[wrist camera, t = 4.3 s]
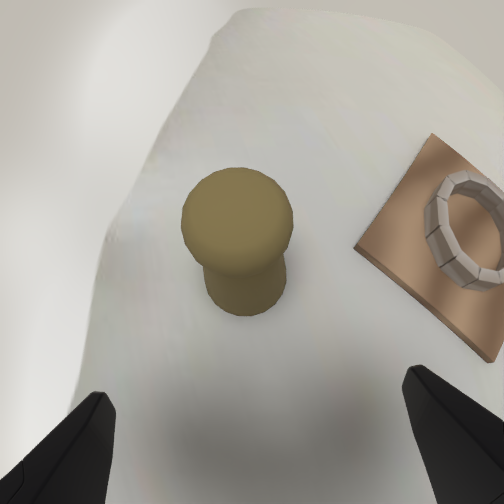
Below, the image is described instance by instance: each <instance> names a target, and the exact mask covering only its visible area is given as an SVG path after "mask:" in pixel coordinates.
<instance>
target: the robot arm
mask: <svg viewBox="0 0 504 504" xmlns="http://www.w3.org/2000/svg"><path fill="white" fill-rule="evenodd" d="M402 392H403V396H404V399H405V403H406V407H407V411H408V415H409V419H410V423H411V427H412V430H413V434H414V437H415V439H416V442H417V445H418V448H419V450H420V453H421V456H422V459H423V462H424V464H425V467H426V470H427V473H428V476H429V479H430V482H431V485H432V488H433V491H434V495H435V498H436V501H437V504H504V421H503V420H502V419H500V418H499V417H497V416H496V415H494V414H493V413H491V412H490V411H489V410H487V409H486V408H484V407H483V406H481V405H480V404H478V403H477V402H476V401H474V400H473V399H471V398H470V397H468V396H467V395H465V394H464V393H462V392H461V391H460V390H458V389H457V388H455V387H454V386H452V385H451V384H449V383H448V382H446V381H445V380H444V379H442V378H441V377H439V376H438V375H436V374H435V373H433V372H432V371H430V370H429V369H428V368H426V367H425V366H423V365H415V366H411V367H409V368H408V370H407V373H406V375H405V378H404V381H403V384H402ZM115 421H116V410H115V408H114V406H113V404H112V402H111V401H110V399H109V397H108V395H107V394H106V393H105V392H97V391H94V392H92V393H90V394H89V395H88V396H87V397H86V398H85V399H84V400H83V401H82V402H81V403H80V404H79V405H78V406H77V407H76V408H75V409H74V410H73V411H72V412H71V413H70V414H69V415H68V416H67V417H66V418H65V419H64V420H62V422H60V423H59V424H58V425H57V426H56V427H55V428H54V429H53V430H52V431H51V432H50V433H49V434H48V435H47V436H46V437H45V438H44V439H43V440H42V441H41V442H40V443H39V444H38V445H37V446H36V447H35V448H34V449H33V450H32V451H31V452H30V453H29V454H28V455H26V456H25V457H24V459H23V461H20V462H19V463H18V464H17V465H16V466H15V467H14V468H13V469H12V470H11V471H10V472H9V473H8V474H7V475H5V476H4V477H3V478H2V479H1V480H0V504H105V499H106V493H107V487H108V480H109V475H110V469H111V463H112V457H113V445H114V432H115Z"/></svg>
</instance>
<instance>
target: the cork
mask: <svg viewBox="0 0 504 504" xmlns="http://www.w3.org/2000/svg"><path fill="white" fill-rule="evenodd" d="M181 230H182V234H183V238H184V242H185V245H186V246H187V248H188V249H189V251H190V252H191V254H192V255H193V257H194V258H195V260H196V261H197V262H198V263H199V264H201V265H202V266H203V271H204V279H205V284H206V288H207V291H208V294H209V296H210V297H211V298H212V300H213V301H214V303H215V304H216V305H217V306H219V307H220V308H221V309H223V310H224V311H225V312H228V313H231V314H234V315H237V316H253V315H257V314H260V313H263V312H265V311H266V310H268V309H269V308H271V307H272V306H273V305H275V304H276V302H277V301H278V299H279V298H280V297H281V295H282V294H283V291H284V288H285V284H286V267H285V261H284V256H283V253H284V252H285V250H286V249H287V247H288V244H289V241H290V237H291V234H292V231H293V211H292V208H291V205H290V203H289V200H288V198H287V196H286V193H285V191H284V190H283V189H282V188H281V187H280V186H279V185H278V184H277V183H276V181H275V180H273V179H271V178H270V177H268V176H266V175H265V174H263V173H261V172H259V171H256V170H252V169H248V168H227V169H223V170H220V171H216V172H214V173H212V174H211V175H209V176H207V177H206V178H204V179H202V180H201V181H200V182H199V183H198V184H197V185H196V186H195V188H194V189H193V190H192V191H191V192H190V193H189V195H188V197H187V199H186V201H185V204H184V206H183V210H182V220H181Z"/></svg>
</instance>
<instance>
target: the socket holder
mask: <svg viewBox="0 0 504 504" xmlns="http://www.w3.org/2000/svg"><path fill="white" fill-rule="evenodd" d="M354 249H355V250H356V251H357V252H359V253H360V254H361V255H362V256H364V257H365V258H366V259H367V260H369V261H370V262H371V263H372V264H374V265H375V266H376V267H377V268H379V269H380V270H381V271H382V272H384V273H385V274H386V275H387V276H389V277H390V278H391V279H392V280H393V281H395V282H396V283H397V284H398V285H400V286H401V287H402V288H403V289H404V290H406V291H407V292H408V293H409V294H410V295H412V296H413V297H414V298H415V299H416V300H417V301H419V302H420V303H421V304H422V305H423V306H424V307H426V308H427V309H428V310H429V311H430V312H431V313H433V314H434V315H435V316H436V317H437V318H438V319H439V320H441V321H442V322H443V323H444V324H445V325H446V326H447V327H449V328H450V329H451V330H452V331H453V332H454V333H455V334H456V335H457V336H459V337H460V338H461V339H462V340H463V341H464V342H465V343H466V344H467V345H468V346H470V347H471V348H472V349H473V350H474V351H475V352H476V353H477V354H478V355H479V356H480V357H481V358H482V359H483V360H485V361H486V362H487V363H493V362H494V361H495V359H496V357H497V355H498V353H499V350H500V348H501V346H502V344H503V341H504V192H503V191H502V190H501V189H500V188H499V187H498V186H496V185H495V184H494V183H493V182H492V181H491V180H490V179H489V178H487V177H486V176H484V175H483V174H482V173H481V172H480V171H479V170H478V169H477V168H475V167H474V166H473V165H472V164H471V163H470V162H468V161H467V160H466V159H465V158H464V157H462V156H461V155H460V154H459V153H457V152H456V151H455V150H454V149H452V148H451V147H450V146H449V145H447V144H446V143H445V142H444V141H442V140H441V139H440V138H438V137H437V136H436V135H434V134H433V133H431V135H430V137H429V138H428V140H427V142H426V143H425V145H424V146H423V148H422V150H421V151H420V153H419V154H418V156H417V157H416V159H415V160H414V162H413V164H412V165H411V167H410V168H409V170H408V171H407V173H406V174H405V176H404V177H403V179H402V180H401V182H400V183H399V185H398V186H397V188H396V189H395V191H394V192H393V194H392V195H391V197H390V198H389V200H388V201H387V202H386V204H385V205H384V207H383V208H382V210H381V211H380V213H379V214H378V215H377V217H376V218H375V220H374V221H373V222H372V224H371V225H370V227H369V228H368V229H367V231H366V232H365V234H364V235H363V236H362V238H361V239H360V240H359V242H358V243H357V245H356V246H355V247H354Z"/></svg>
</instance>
